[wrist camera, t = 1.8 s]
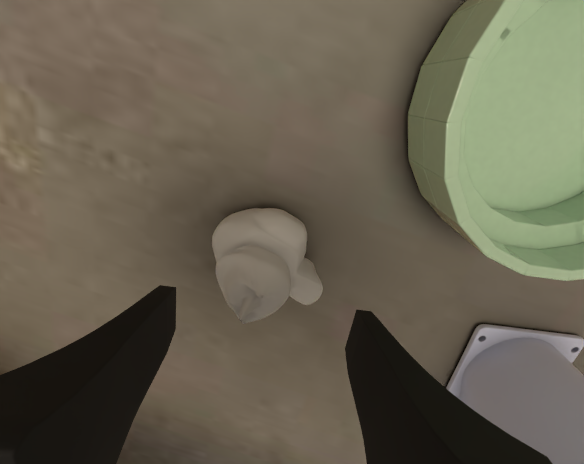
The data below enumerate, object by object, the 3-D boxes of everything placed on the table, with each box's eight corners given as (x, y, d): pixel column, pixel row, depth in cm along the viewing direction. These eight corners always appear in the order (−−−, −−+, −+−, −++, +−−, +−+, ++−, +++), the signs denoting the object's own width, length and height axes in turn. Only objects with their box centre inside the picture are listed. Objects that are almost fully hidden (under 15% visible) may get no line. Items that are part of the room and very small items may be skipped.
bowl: (591, 250, 20) (680, 297, 16) (373, 218, 19) (400, 259, 15) (758, -26, 14) (976, -80, 10) (460, -92, 13) (549, -186, 9)
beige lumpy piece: (246, 176, 18) (217, 234, 11) (340, 233, 20) (371, 320, 12) (203, 247, 20) (153, 340, 12) (291, 295, 21) (293, 403, 14)
